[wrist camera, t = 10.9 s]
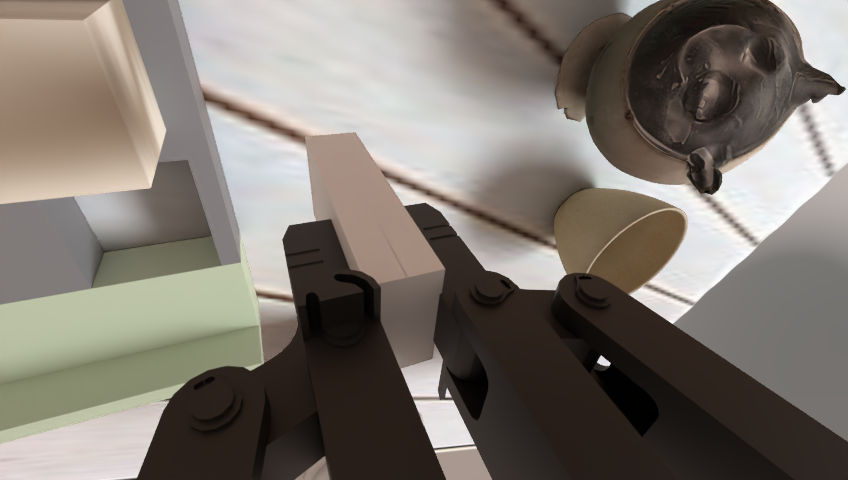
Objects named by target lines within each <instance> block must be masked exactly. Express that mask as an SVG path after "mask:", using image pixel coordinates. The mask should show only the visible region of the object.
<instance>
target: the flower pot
mask: <svg viewBox="0 0 848 480" xmlns="http://www.w3.org/2000/svg"><path fill="white" fill-rule="evenodd" d="M553 226H554V235H555V241H556V246H557V249H558V253H559V256H560V259H561V262H562V264H563V267H564V269H565V271H566V273H567V275H568V274H572V273H588V274H592V275H595V276H599V277H601V278H603V279H605V280H607V281H608V282H610V283H612V284H613V285H615V286H616V287H618V288H619V289H621V290H622V291H624V292H625V293H627V294H628V295H630V294H632V293H633V292H635V291H637V290H638V289H640V288H641V287H642V286H644V285H645V284H647V283H648V282H649V281H650V280H651V279H653V278H654V277H655V276H656V275H657V274H658V273H659V272H660V271H661V270H662V269H663V268H664V267H665V266H666V265H667V263H668V262H669V261H670V260H671V259H672V257H673V256H674V254H675V253H676V252H677V250H678V249H679V247H680V245H681V243H682V241H683V240H684V237H685V235H686V232H687V227H688V219H687V216H686V214H685V212H683V211H682V210H681V209H679V208H677V207H675V206H673V205H670V204H668V203H666V202H663V201H661V200H658V199H656V198H653V197H650V196H646V195H643V194H639V193H635V192H630V191H625V190H618V189H606V188H591V189H584V190H581V191H579V192H577V193H575V194H573V195H572V196H571V197H569V198H568V199H567V200H566V201H565V202H564V203H563V204H562V205H561V207H560V208H559V209H558V211H557V213H556V215H555V218H554V223H553Z"/></svg>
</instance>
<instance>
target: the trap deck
mask: <svg viewBox="0 0 848 480" xmlns="http://www.w3.org/2000/svg"><path fill="white" fill-rule="evenodd" d="M122 1H123V4H124V7H125V10H126V13H127V16H128V19H129V22H130V25H131V28H132V31H133V34H134V37H135V40H136V43H137V46H138V48H139V51H140V54H141V57H142V60H143V63H144V66H145V69H146V72H147V75H148V78H149V81H150V84H151V87H152V90H153V93H154V96H155V98H156V101H157V104H158V107H159V110H160V113H161V116H162V119H163V122H164V125H165V128H166V133H165V137H164V141H163V144H162V148H161V152H160V156H159V159H158V163H159V162H170V161H181V160H188V163H189V166H190V169H191V172H192V176H193V179H194V182H195V185H196V188H197V191H198V194H199V197H200V200H201V203H202V206H203V210H204V213H205V216H206V219H207V222H208V225H209V228H210V231H211V234H212V236H209V237H202V238H196V239H189V240H182V241H176V242H169V243H163V244H156V245H149V246H143V247H136V248H129V249H123V250H116V251H109V252H104V251H103V249H102V247H101V245H100V244H99V242H98V240H97V238H96V236H95V235H94V233H93V231H92V229H91V227H90V226H89V224H88V222H87V220H86V218H85V217H84V215H83V213H82V211H81V209H80V208H79V206H78V204H77V202H76V201H75V199H74V197H73V196H72V197H63V198H53V199H44V200H34V201H25V202H16V203H6V204H0V444H1V443H5V442H9V441H12V440H16V439H20V438H24V437H27V436H31V435H35V434H38V433H42V432H46V431H50V430H53V429H57V428H61V427H64V426H68V425H72V424H76V423H79V422H83V421H87V420H90V419H94V418H98V417H102V416H105V415H109V414H113V413H116V412H120V411H124V410H128V409H131V408H135V407H139V406H142V405H146V404H150V403H154V402H157V401H161V400H165V399H168V398H172V396H173V395H174V393H176V392H177V391H178V390H179V389H180V388H181V387H182V386H183V385H184V384H185V383H187V382H188V381H189V380H190V379H192V378H194V377H196V376H198V375H200V374H201V373H203V372H205V371H207V370H210V369H215V368H219V367H223V366H236V367H244V368H246V369H248V370H250V371H251V370H253V369H255V368H257V367H258V366H260V365H262V364H264V357H263V346H262V336H261V325H260V314H259V303H258V299H257V296H256V292H255V288H254V284H253V281H252V277H251V273H250V269H249V266H248V262H247V258H246V254H245V251H244V247H243V243H242V239H241V236H240V232H239V228H238V224H237V221H236V217H235V213H234V209H233V206H232V202H231V198H230V194H229V191H228V187H227V183H226V179H225V176H224V172H223V168H222V164H221V161H220V157H219V153H218V149H217V146H216V142H215V138H214V134H213V131H212V127H211V123H210V119H209V116H208V112H207V108H206V104H205V101H204V97H203V93H202V89H201V86H200V82H199V78H198V74H197V71H196V67H195V63H194V59H193V56H192V52H191V48H190V44H189V41H188V37H187V33H186V29H185V25H184V22H183V18H182V14H181V10H180V7H179V3H178V0H122Z"/></svg>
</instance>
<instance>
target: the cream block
mask: <svg viewBox="0 0 848 480" xmlns="http://www.w3.org/2000/svg"><path fill="white" fill-rule="evenodd" d="M165 133H166V128H165V125H164V122H163V119H162V116H161V113H160V110H159V107H158V104H157V101H156V98H155V96H154V93H153V90H152V87H151V84H150V81H149V78H148V75H147V72H146V69H145V66H144V63H143V60H142V57H141V54H140V51H139V48H138V46H137V43H136V40H135V37H134V34H133V31H132V28H131V25H130V22H129V19H128V16H127V13H126V10H125V7H124V4H123V1H122V0H0V204H6V203H16V202H25V201H34V200H44V199H53V198H63V197H72V196H82V195H91V194H101V193H110V192H119V191H129V190H138V189H148V188H151V186H152V182H153V178H154V174H155V171H156V167H157V163H158V159H159V156H160V152H161V148H162V144H163V141H164V137H165Z"/></svg>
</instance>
